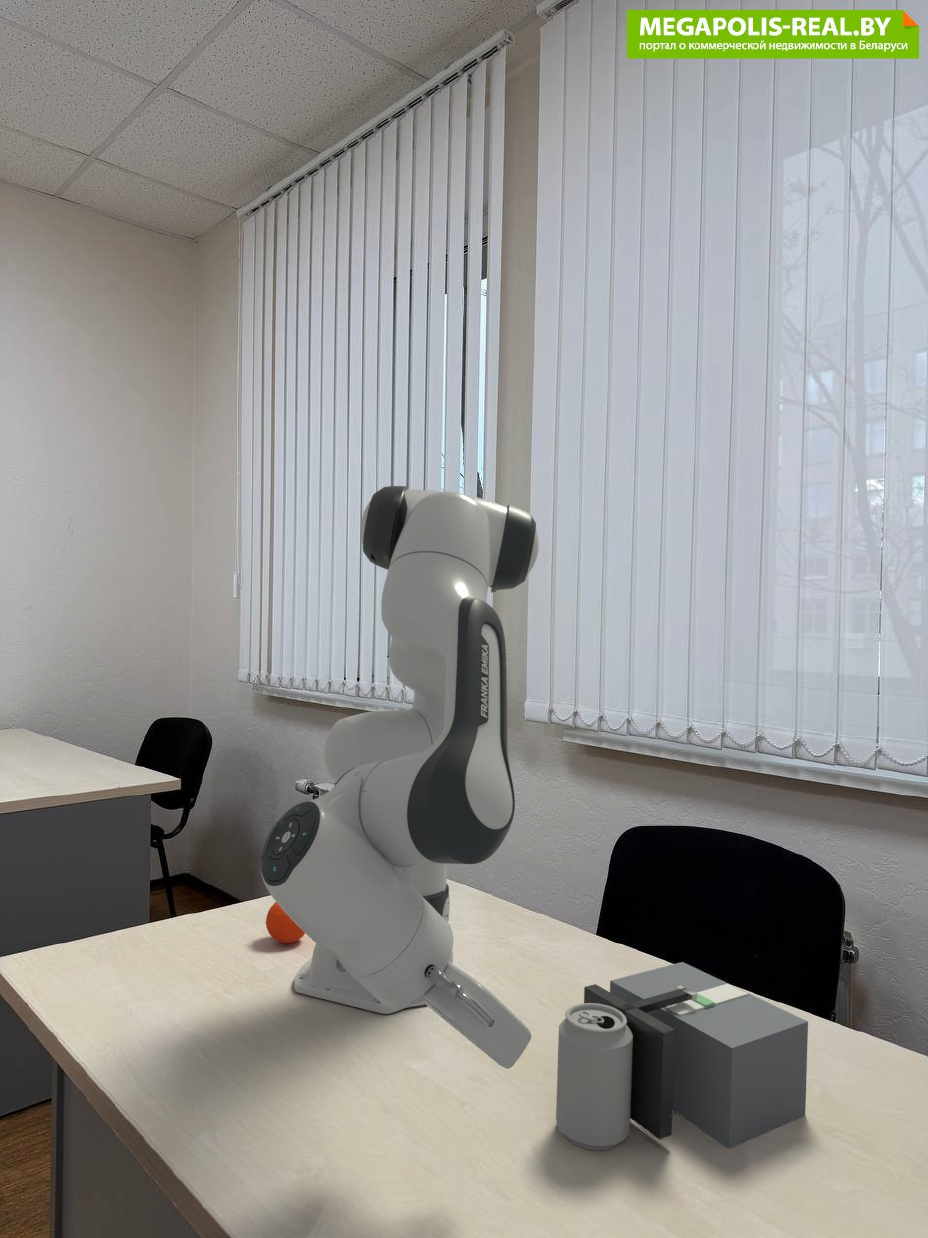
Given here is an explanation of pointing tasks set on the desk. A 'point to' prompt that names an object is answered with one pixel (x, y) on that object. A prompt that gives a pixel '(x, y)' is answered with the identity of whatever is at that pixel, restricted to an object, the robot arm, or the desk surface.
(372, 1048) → the desk surface
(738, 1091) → the gauge housing
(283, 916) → the clementine
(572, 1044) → the can
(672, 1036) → the gauge plunger
